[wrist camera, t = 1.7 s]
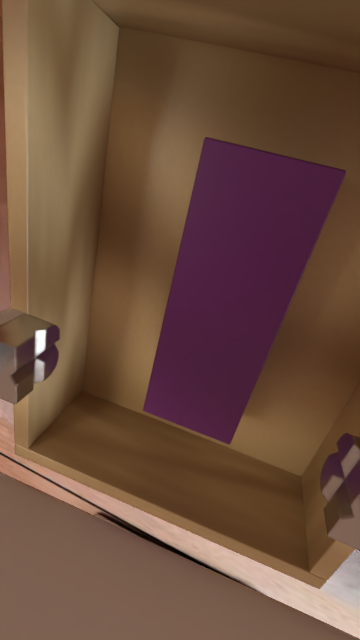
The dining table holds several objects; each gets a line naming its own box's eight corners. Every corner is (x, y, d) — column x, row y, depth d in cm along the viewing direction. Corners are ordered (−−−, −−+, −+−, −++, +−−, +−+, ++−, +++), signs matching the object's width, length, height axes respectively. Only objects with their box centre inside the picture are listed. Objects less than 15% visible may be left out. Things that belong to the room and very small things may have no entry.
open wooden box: (113, 6, 12) (-4, -120, 7) (558, 87, 10) (861, -16, 5) (78, 388, 21) (14, 454, 16) (307, 478, 19) (319, 589, 14)
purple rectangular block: (218, 145, 12) (204, 135, 10) (332, 172, 12) (347, 170, 9) (160, 379, 18) (142, 411, 15) (236, 407, 17) (229, 445, 15)
